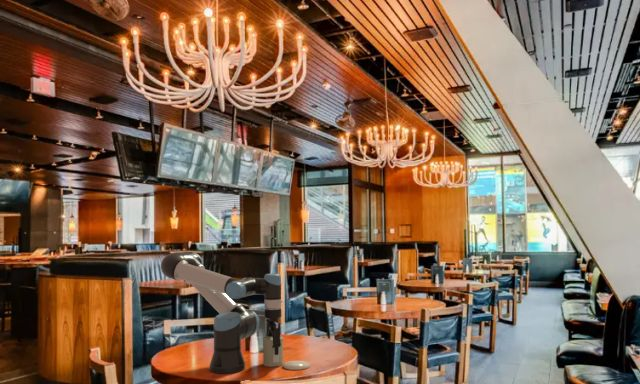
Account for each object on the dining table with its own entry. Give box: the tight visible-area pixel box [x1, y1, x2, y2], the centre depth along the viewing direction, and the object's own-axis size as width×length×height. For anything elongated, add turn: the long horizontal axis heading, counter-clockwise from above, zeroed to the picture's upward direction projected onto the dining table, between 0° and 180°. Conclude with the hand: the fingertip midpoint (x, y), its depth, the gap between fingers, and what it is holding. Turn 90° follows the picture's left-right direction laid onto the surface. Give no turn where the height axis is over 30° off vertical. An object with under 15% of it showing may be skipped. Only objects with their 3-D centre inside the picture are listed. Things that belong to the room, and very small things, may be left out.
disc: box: [282, 360, 311, 371], centre depth 226 cm, size 12×12×1 cm
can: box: [262, 335, 284, 368], centre depth 230 cm, size 9×9×12 cm
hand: (273, 359), depth 230 cm, fingers closed on can, 9 cm apart
